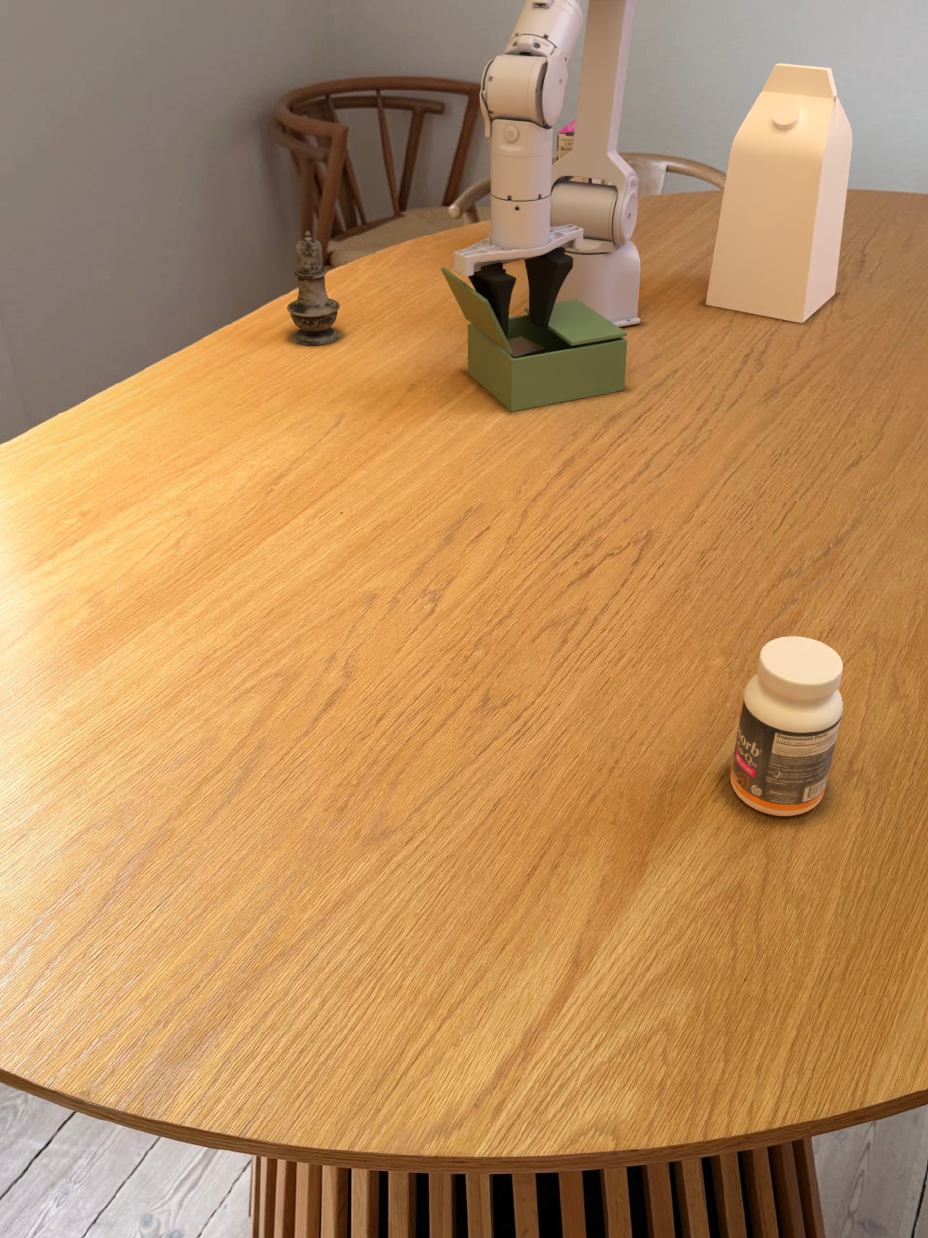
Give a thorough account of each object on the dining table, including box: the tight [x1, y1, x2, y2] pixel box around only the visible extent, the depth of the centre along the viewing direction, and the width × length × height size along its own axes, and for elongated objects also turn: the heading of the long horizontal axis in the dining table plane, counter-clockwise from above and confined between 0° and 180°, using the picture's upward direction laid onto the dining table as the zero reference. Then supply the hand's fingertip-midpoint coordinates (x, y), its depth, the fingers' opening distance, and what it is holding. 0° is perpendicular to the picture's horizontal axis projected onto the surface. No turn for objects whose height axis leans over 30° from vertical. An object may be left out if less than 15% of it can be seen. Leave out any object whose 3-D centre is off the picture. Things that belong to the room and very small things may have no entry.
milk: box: [705, 62, 854, 324], centre depth 139 cm, size 12×12×26 cm
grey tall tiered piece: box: [286, 230, 341, 347], centre depth 134 cm, size 6×6×12 cm
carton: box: [467, 299, 628, 412], centre depth 125 cm, size 13×11×6 cm
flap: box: [440, 266, 513, 354], centre depth 119 cm, size 6×11×1 cm
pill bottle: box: [730, 635, 844, 817], centre depth 72 cm, size 6×6×10 cm
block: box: [495, 336, 545, 359], centre depth 124 cm, size 4×4×4 cm
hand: (518, 331), depth 122 cm, fingers open, 5 cm apart
